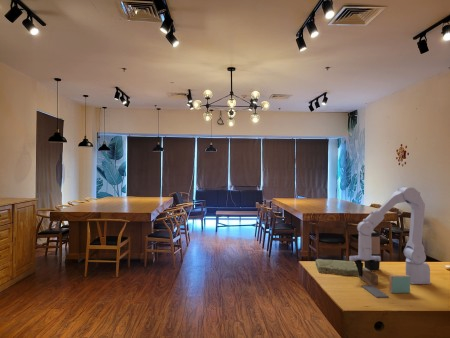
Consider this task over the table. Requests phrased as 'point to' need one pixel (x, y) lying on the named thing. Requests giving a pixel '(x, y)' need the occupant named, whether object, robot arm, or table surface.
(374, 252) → the travel mug
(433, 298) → the table surface
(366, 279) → the brown wooden plank
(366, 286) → the mat
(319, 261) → the decorative tile
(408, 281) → the tile
